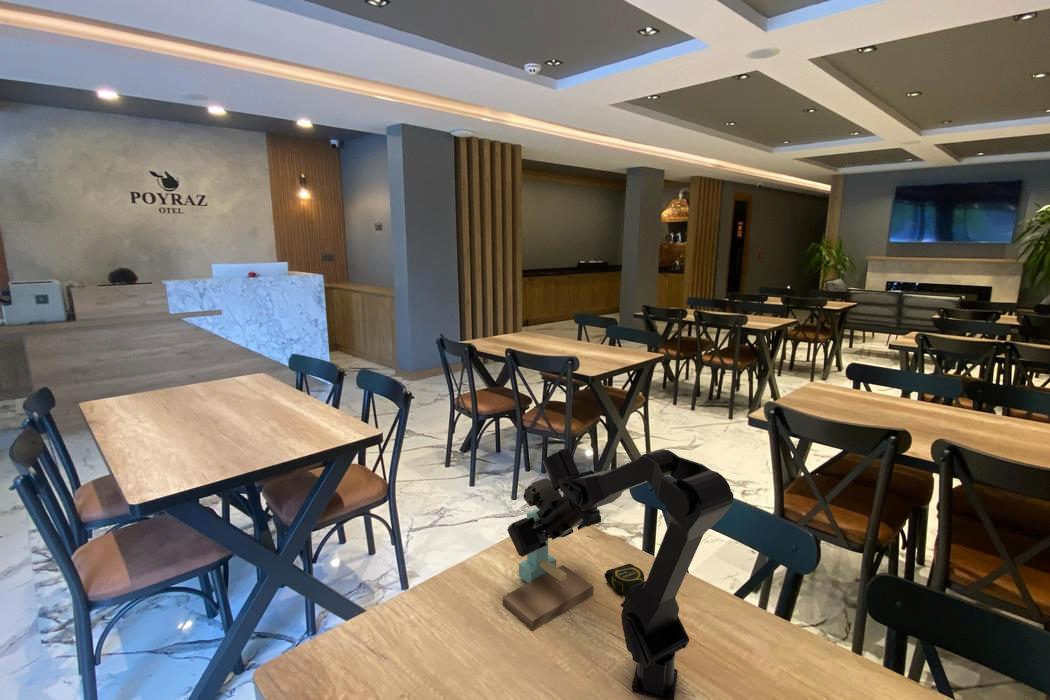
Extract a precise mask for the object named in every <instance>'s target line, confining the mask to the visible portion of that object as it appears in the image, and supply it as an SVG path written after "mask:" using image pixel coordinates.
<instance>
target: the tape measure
mask: <svg viewBox="0 0 1050 700" xmlns="http://www.w3.org/2000/svg"><path fill="white" fill-rule="evenodd" d="M603 577H604V579H605V580H606V581H605V582H607V584H608V585H610V586H612V587H613V590H615V591H616V592H617V593H619V594H622V595H624V596H625V595H626V592H627V590H628V588H631V587H633V586H635V585H638V584H640V583H642V582H644V581H645V574H644V572H643V570H642V569H641V568H639V567H638V566H635V565H634V564H633V563H626V564H623V565H620V566H616V567H614V568H610V569H608V570H606V571H605V572H604V576H603Z"/></svg>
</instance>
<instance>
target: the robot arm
mask: <svg viewBox="0 0 1050 700" xmlns="http://www.w3.org/2000/svg"><path fill="white" fill-rule="evenodd" d="M572 455H573V454H572V452H571V450H570V448H569V447H565V448H562V449H559V450H558V451H556V452H555V453H552V454H550V455H549V456H546V457H545V458H543V459H542V464H543V465H544V468H545V471H546V472H547V475H548V478H546V477H545V478H542V479H539V480H537V481H534V482H532V483H531V484H530V485H528V487H527V488H525V489H524V494H523V496H522V497H523V499H524V501H525V502H526V503H527V505H529V507H533V506H534V507H536V508H537V509H540V510H539V511H537V512H536V513H537V515H538V517H539V518H542V519H540V520H538V521H535V520H534V518H533V517H532V518H530V519H527V517H524V518H522V519H521V518H520V519H519V520H517V521H515V522H512V523H511V524H510V525H509V526H508V527H507V533H508V535H509V537H510V540H511V541H512V543H513V545H514V546H513V547H514V548H515V549H516V552H517V554H518V556H520V557H522V558H524V557H527V555H528V554H530V553H532V552H534V551H536V550H538V549H540V548H542V547H544V546H546V545H547V544H546V542H545V541H547V540H548V541H549V539H551V540H552V541H554V540H556V539H558V538H559V539H560V538H566V537H567V536H569V535H571V534H573V533H574V528H577V531H580V530H582V529H584V528H586V527H587V528H588V527H590V526H594V525H597V524H600V523H602V516H601V511H600V509H598V508H599V507H602V506H606V505H608V504H612V503H614V502H615V501H616V500H618V499H619V498H620V497H621V496H622V494H623V493H624V492H625V491H628V490H630V489H632V488H634V487H637V486H640V485H643V484H645V483H649V484H650V485H651V487H652V490H653V492H654V496H655V498H656V499H657V500H658V501H659V502H661V503H662V504H663V505H664V510H665V513H666V515H667V519H668V521H669V522H668V525H667V528H666V530H665V533H664V535H663V538H662V540H661V543H660V545H659V548H658V551H657V553H656V556H655V558H654V560H653V563H652V565H651V567H650V570H649V573H648V575H647V577H646V580H644V582H642V583H640V584H638V585H635V586H633V587H631V588H628V590H627V592H626V595H625V594H624V600H623V602H622V603H620V607H621V608H622V609H621V615H620V616H621V626H622V630H623V636H624V641H625V646H626V650H627V651H628V652H629V653H630V654H631V657H632V658H631V659H632V661H633V662H634V663H636V667H635V671H634V675H633V680H632V685H631V690H632V692H634V693H638V694H641V695H645V696H648V697H652V698H655V699H658V700H675V698H676V697H675V696H676V688H677V680H678V672H679V671H678V670H677V669H676V668H675V660H676V653H677V652H679V651H680V650H683V649H686V648H687V647H688V644H689V643H690V637H689V635H688V634H687V631H686V630H685V627H684V625H683V623H682V621H681V619H680V617H679V611H680V606H679V604H678V601H677V599H676V596H677V595H678V592H679V591H680V588H681V586H682V584H683V581H684V579H685V577H686V575H687V573H688V570H689V568H690V566H691V564H692V562H693V559H694V557H695V555H696V552H697V550H698V548H699V546H700V543H701V541H702V540H703V537H704V535H705V534H706V533H707V532H708V530H710V529H711V528H712V527H713V526H715V525H716V524H717V523H718V522H719V521H720V520H721V519H722V518H723V517H724V516H725V514H726V513H727V512H728V511H729V510H730V508H731V507H732V505H733V502H734V493H733V492H732V490H731V486H730V484H729V482H728V481H727V479H726V478H725V477H724V476H723V475H722V474H720V473H719V471H716V470H712V469H711V468H709V467H707V466H706V465H704V464H702V463H700V462H696V461H693V460H690V459H687V458H685V457H681V456H679V455H677V454H676V453H674V451H671V450H668V449H664V448H662V449H658V450H654V451H653V450H652V451H651V452H650V451H649V452H646V453H643V454H642V455H641V456H640V457H638V458H636V459H634V460H632V461H629V462H628V463H625V464H623V465H621V466H618V467H616V468H614V469H611V470H603V471H595V470H592V469H590V470H587V471H582V472H580V471H579V468H578V466H577V465H576V462H575V460H574V457H573V456H572ZM668 476H670V477H671V478H673V479H675V481H673V482H672V481H670V480H669V479H668V478H666V477H668ZM561 492H563V494H564V495H563V496H562V494H561ZM544 531H546V532H544Z"/></svg>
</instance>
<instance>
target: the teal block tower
mask: <svg viewBox="0 0 1050 700" xmlns="http://www.w3.org/2000/svg"><path fill="white" fill-rule="evenodd" d="M539 510H540V509H538V508H537V509H534V510H532V511H529V512H527V513H526V518H527V519H530V518H532V517H533V518H534V520H535V521H538V520H540V519H542V518H539V517H538V515H537V513H536V512H537V511H539ZM544 532H546V531H544ZM545 542H546V544H547V545H546V546H544V547H542V548H540V549H538V550H536V551H534V552H532V553H530V554H528V555H526V558H527V559H526V560H524V561H522V562H519V563H518V577H519V578H520V579H522V580H523V581H524V582H525V583H526V584H528V583H529V582H531V581H533V580H535V579H537V578H539V577H541V576H543V575H545V574H547V573H550V574H551V575H552V576H554V577H555V578H557V579H558V580H559V581H562V580H564V579H566V578H567V574H566V573H565V572H563V571H562V570H560V569H559V568H558V566H557V559H556V558H555V557H553V556H552V555H550V554H549V539H548V540H547V541H545Z"/></svg>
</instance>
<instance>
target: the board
mask: <svg viewBox="0 0 1050 700" xmlns="http://www.w3.org/2000/svg"><path fill="white" fill-rule="evenodd" d="M557 567H558V566H557ZM558 568H559V569H560V570H562V571H563V572H565V573H566V574H567V578H566V579H564V580H562V581H559V580H558V579H557V578H555V577H554V576H552V575H551V574H550V573H547V574H545V575H543V576H541V577H539V578H537V579H535V580H533V581H531V582H529V583H526V584H524V585H522V586H520V587H518V588H516V589H514V590H512V591H510V592H508V593H507V594H504V595H502V605H503V607H504V608H506V610H508V611H509V612H510V613H511V614H513V616H515V617H516V618H517V619H518V620H519V621H520V622H521V623H522V624H524V625H525V626H526V627H527V628H528V629H529V630H530V631H532V632H533V631H534V630H535V629H536V630H537V629H538V628H540V627H542V626H543V625H545V624H547V623H548V622H550V621H551V620H553V619H554V618H556V617H558V616H560V615H561V614H563V613H565V612H566V611H568V610H570V609H571V608H574V607H575V606H576V605H578V604H579V603H581V602H583V601H585V600H586V599H587V600H588V598H590V597H591V596H593V595H594V587H595V586H594V585H593V584H591V583H590V582H589V581H587V580H586V579H584V578H583V577H582V576H580V575H579V574H577V573H576V572H574V571H573V570H571V569H570V568H568V567H566V566H565V565H560V566H559V567H558Z"/></svg>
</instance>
